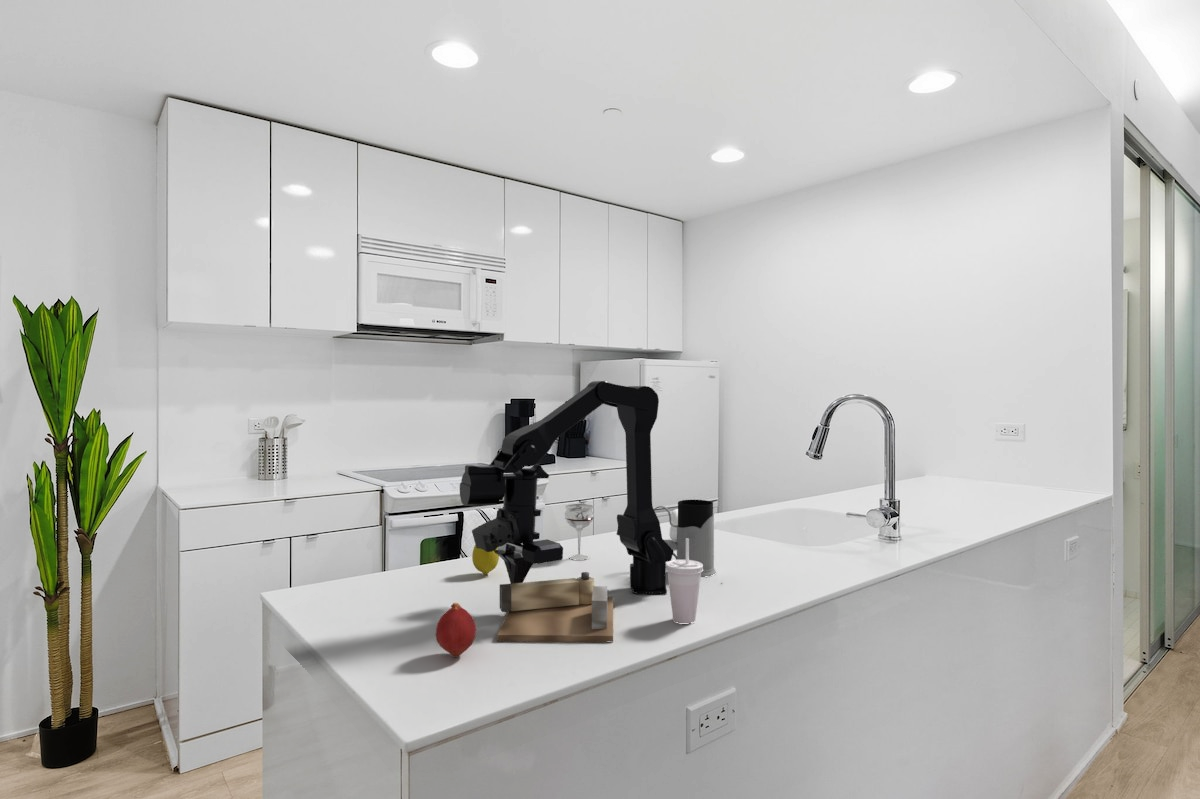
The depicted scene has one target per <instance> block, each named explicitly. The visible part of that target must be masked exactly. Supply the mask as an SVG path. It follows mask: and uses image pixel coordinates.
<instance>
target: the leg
mask: <svg viewBox="0 0 1200 799" xmlns="http://www.w3.org/2000/svg"><path fill="white" fill-rule="evenodd" d="M593 586H595V578H594V577H592V576H589V579H588V580H583V579H581V577H577V578H575V577H572V578H571V577H570V578H562V579H561V578H560V579H549V580H548V579H547V580H539V581H538V580H537V581H525V582H524V581H523V583H512V584H511V583H502V584H499V609H500V611H501V613H505V612H507V613H508V612H509V611H519V610H529V609H539V608H549V607H560V606H570V605H579V604H592V594H593Z"/></svg>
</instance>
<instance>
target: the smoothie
mask: <svg viewBox="0 0 1200 799" xmlns="http://www.w3.org/2000/svg"><path fill="white" fill-rule="evenodd" d="M665 570H666V573H667V579H668V588H669V595H670V596H669V597H670V605H671V613H672V614H671V615H672V620H674V621H675V622H678V623H691V622H694V621H695V622H696V617H697V611H698V610H697V609H698V603H699V594H700V587H701V586H700V585H701V579H702V578H701V572H703V564H702V563H700V562H698V561H694V560H689V539H688V538H686V560H676V559H671V561H668V562H666V568H665ZM674 621H673V622H674ZM675 622H674V623H675Z"/></svg>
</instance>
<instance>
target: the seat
mask: <svg viewBox="0 0 1200 799" xmlns="http://www.w3.org/2000/svg"><path fill="white" fill-rule="evenodd" d="M580 574H581V575H580V576H581V579H583V580H588V579H589V577H590V572H588V571H582V572H581V573H580ZM496 641H497V642H518V641H521V643H522V642H523V641H526V642H527V643H528V642H529V641H530V642H531V643H532V642H533V643H534V642H537V643H538V642H539V643H540V642H541V643H543V642H544V643H545V642H547V643H551V642H552V643H558V642H559V643H564V642H565V643H606V642H605V641H613V642H614V596H608V586H603V585H602V586H601V585H599V586H597V585H594V586H593V594H592V604H579V605H570V606H560V607H549V608H539V609H529V610H519V611H509V612H507V614H506V616H505V618H504V620H503V623H502V624H501V626H500V628H499V630H498V633H497V635H496Z"/></svg>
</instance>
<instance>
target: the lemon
mask: <svg viewBox="0 0 1200 799" xmlns="http://www.w3.org/2000/svg"><path fill="white" fill-rule="evenodd" d="M496 550H498V547H497V549H496ZM471 555H472V556H471V557H472V564H473V566H474V569H476V570H477V571H478V572H481V573H482V574H483V575H484V576H487V575H488V574H489V573H490V572H492V571H493V570H494V569H496V567H497V566H498V564H499V560H500V556H499V555H497V554H495V552H494V551H492V552H486V551H485V550H483V549H480V548H479V549H478V548H476V545H474V547H473V550H472V554H471Z"/></svg>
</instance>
